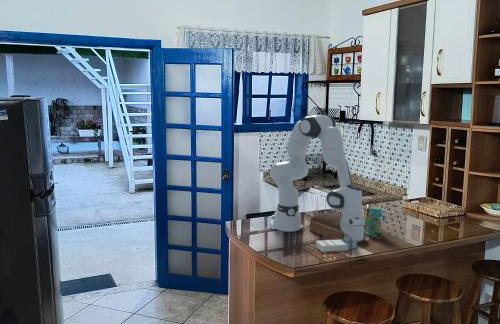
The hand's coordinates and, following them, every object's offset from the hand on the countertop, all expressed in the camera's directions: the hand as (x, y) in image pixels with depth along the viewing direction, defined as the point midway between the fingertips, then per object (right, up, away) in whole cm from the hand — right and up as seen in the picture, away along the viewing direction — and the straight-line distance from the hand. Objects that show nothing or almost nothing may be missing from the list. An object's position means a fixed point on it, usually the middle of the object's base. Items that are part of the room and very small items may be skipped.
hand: (350, 243), depth 227 cm
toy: (+18, +1, +23) cm, 29 cm away
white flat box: (-10, -2, -2) cm, 10 cm away
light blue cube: (0, -2, 0) cm, 2 cm away
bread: (-3, +1, +21) cm, 21 cm away
